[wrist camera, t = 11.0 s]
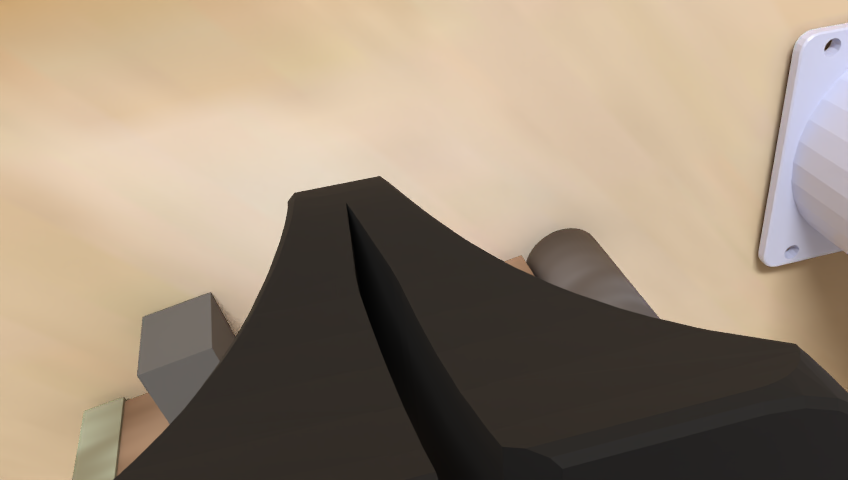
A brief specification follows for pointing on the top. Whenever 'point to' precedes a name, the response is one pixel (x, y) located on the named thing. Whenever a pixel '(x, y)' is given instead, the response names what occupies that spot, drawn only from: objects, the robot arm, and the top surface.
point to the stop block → (181, 351)
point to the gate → (549, 260)
